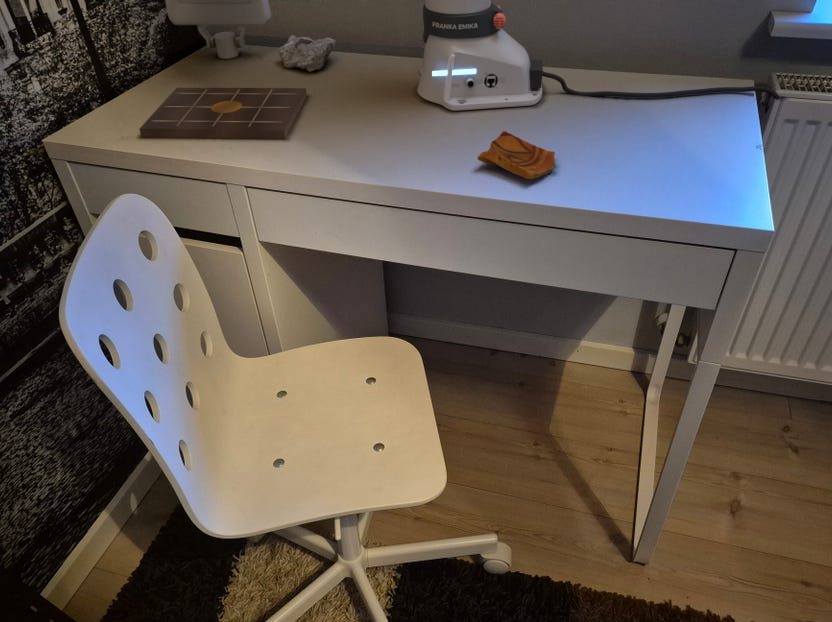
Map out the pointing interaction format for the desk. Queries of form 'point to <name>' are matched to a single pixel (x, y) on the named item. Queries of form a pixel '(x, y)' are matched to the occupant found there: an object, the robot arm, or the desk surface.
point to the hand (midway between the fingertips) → (226, 47)
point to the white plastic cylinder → (226, 45)
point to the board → (226, 113)
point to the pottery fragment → (518, 156)
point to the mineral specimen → (306, 52)
